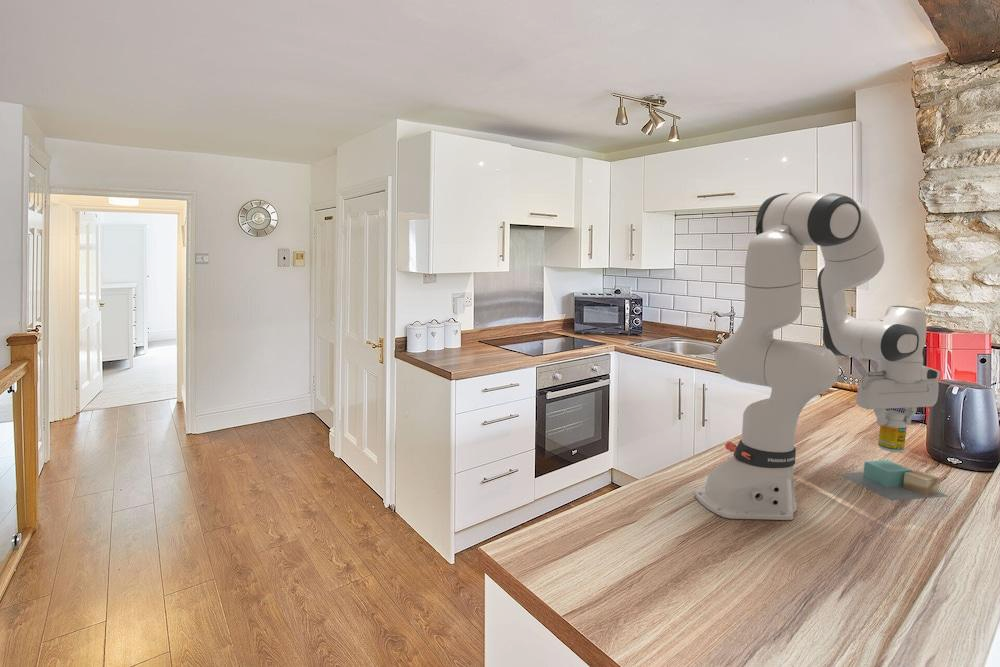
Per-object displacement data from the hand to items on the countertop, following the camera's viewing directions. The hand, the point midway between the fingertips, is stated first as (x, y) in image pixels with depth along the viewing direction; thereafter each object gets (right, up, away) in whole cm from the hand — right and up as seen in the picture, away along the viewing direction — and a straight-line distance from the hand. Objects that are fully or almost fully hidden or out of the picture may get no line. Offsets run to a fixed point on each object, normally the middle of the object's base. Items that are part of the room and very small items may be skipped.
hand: (893, 424), depth 132 cm
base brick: (0, -15, +2) cm, 15 cm away
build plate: (-1, -16, 0) cm, 16 cm away
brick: (+4, -16, -4) cm, 17 cm away
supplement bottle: (0, -7, +1) cm, 7 cm away
